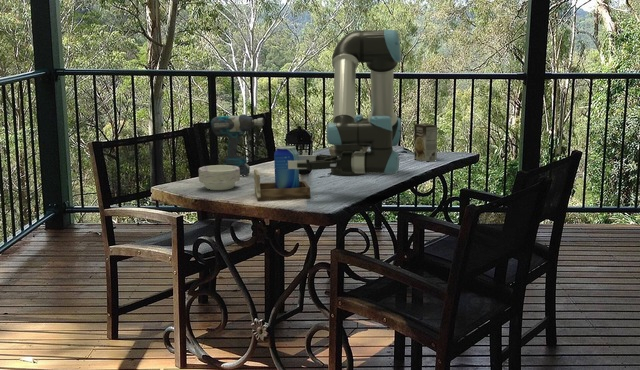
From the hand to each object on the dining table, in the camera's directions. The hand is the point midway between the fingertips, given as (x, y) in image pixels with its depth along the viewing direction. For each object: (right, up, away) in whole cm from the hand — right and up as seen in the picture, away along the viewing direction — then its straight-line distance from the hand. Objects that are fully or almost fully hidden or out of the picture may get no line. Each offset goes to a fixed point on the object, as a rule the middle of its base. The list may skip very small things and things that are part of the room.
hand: (293, 161), depth 273 cm
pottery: (+23, +3, +84) cm, 87 cm away
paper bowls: (-28, -10, +21) cm, 36 cm away
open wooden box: (-4, -12, +2) cm, 13 cm away
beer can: (-2, -11, +2) cm, 11 cm away
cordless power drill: (-23, -4, +49) cm, 54 cm away
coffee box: (+56, +3, +77) cm, 95 cm away
